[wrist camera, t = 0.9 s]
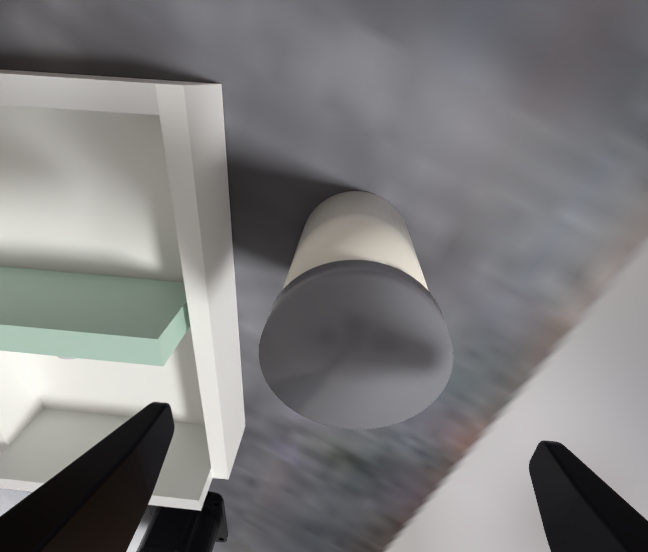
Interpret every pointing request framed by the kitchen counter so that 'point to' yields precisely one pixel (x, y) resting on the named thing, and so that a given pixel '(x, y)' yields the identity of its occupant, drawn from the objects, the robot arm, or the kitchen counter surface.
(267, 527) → the kitchen counter surface
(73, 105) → the white tray
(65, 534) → the robot arm
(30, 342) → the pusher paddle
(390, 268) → the jar
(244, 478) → the kitchen counter surface
